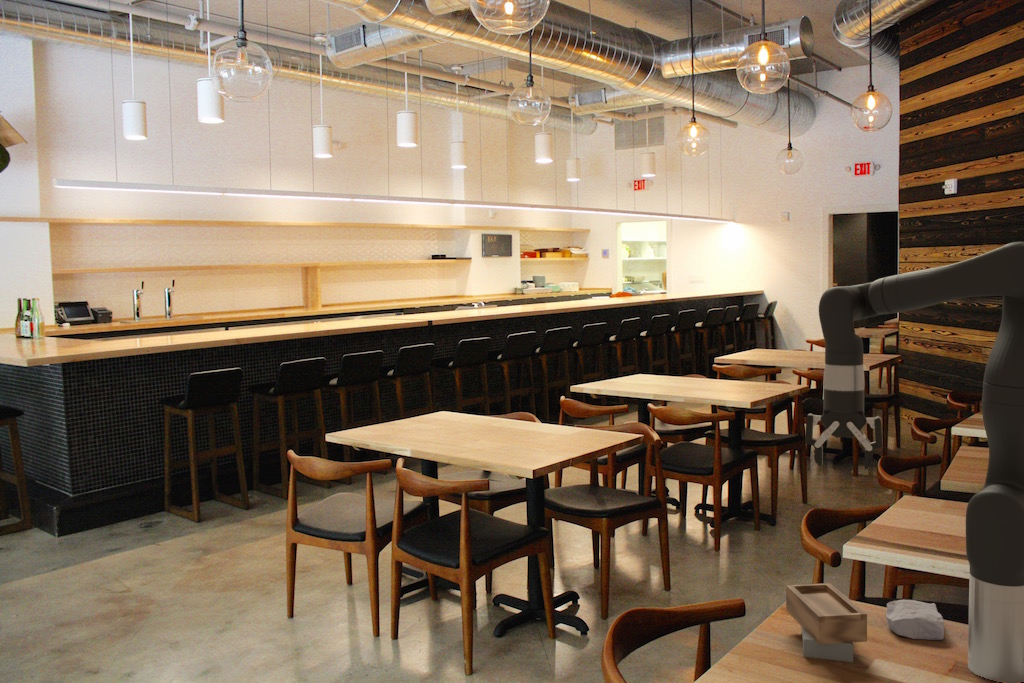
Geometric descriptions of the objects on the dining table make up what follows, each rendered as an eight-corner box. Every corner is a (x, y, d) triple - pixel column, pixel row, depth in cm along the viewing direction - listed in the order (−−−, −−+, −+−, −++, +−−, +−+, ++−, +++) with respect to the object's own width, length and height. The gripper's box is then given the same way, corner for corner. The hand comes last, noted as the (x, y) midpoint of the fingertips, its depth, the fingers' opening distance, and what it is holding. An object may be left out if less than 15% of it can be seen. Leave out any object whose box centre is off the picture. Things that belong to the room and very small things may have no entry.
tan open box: (830, 608, 162) (830, 583, 162) (866, 641, 148) (867, 614, 147) (786, 610, 162) (786, 585, 162) (818, 644, 147) (818, 616, 147)
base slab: (846, 631, 161) (846, 611, 161) (853, 665, 147) (853, 644, 147) (801, 626, 164) (801, 607, 163) (803, 659, 150) (803, 639, 149)
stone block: (893, 645, 157) (950, 641, 154) (888, 621, 157) (944, 616, 154) (884, 622, 168) (936, 618, 165) (879, 599, 168) (932, 595, 165)
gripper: (883, 385, 161) (882, 465, 162) (807, 383, 167) (807, 460, 168) (883, 390, 154) (882, 474, 155) (804, 387, 160) (803, 468, 161)
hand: (843, 467), depth 162 cm, fingers open, 8 cm apart
